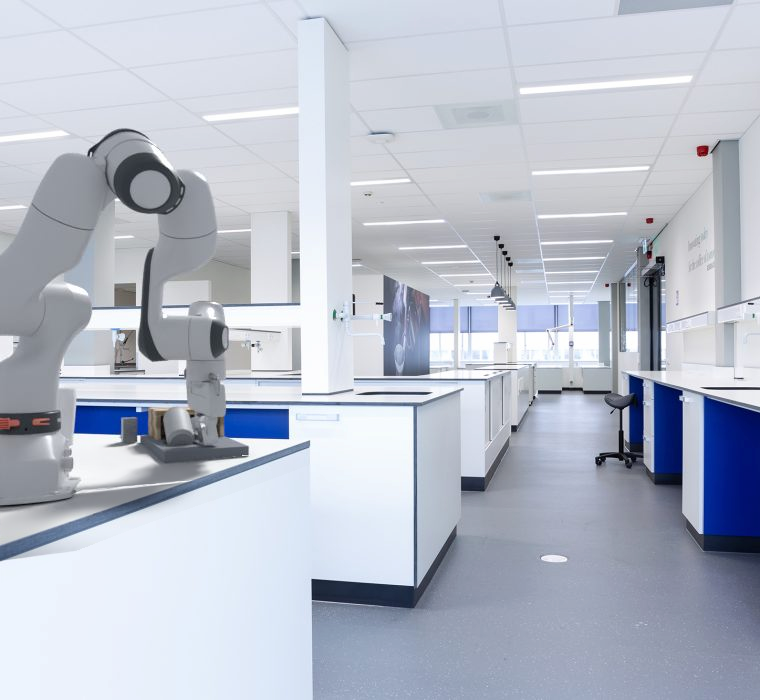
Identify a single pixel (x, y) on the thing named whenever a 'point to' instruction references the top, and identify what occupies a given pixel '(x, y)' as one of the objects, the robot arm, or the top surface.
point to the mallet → (129, 430)
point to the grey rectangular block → (202, 430)
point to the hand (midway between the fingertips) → (206, 432)
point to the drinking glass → (67, 412)
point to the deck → (193, 449)
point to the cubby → (157, 422)
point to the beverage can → (178, 426)
